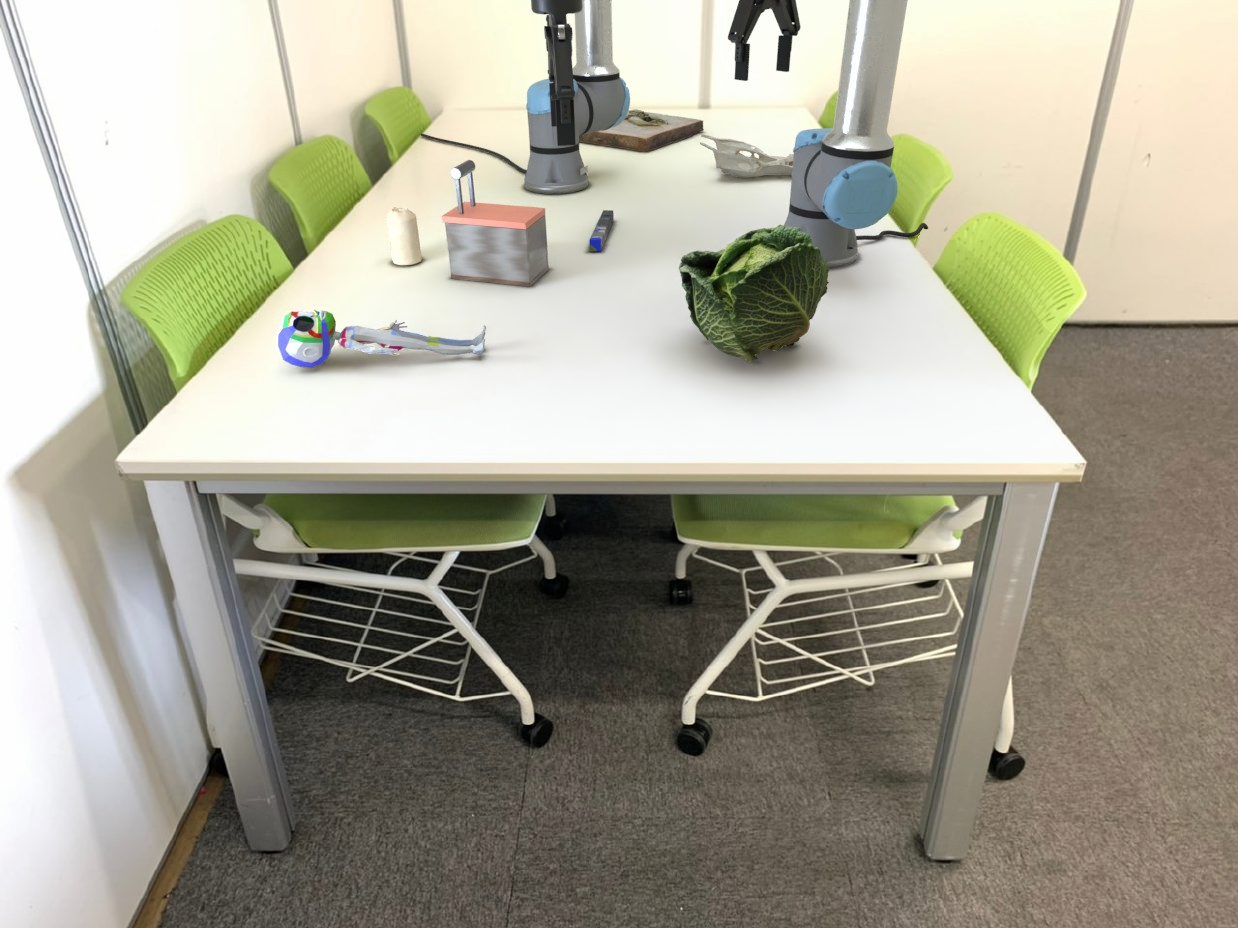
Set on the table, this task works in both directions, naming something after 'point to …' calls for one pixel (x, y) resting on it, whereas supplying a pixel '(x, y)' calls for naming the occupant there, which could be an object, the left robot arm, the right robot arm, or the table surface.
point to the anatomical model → (747, 159)
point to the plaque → (645, 131)
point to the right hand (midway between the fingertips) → (563, 135)
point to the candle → (403, 236)
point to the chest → (498, 253)
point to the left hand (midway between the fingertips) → (762, 75)
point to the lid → (487, 207)
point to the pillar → (601, 230)
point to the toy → (356, 339)
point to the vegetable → (755, 290)
